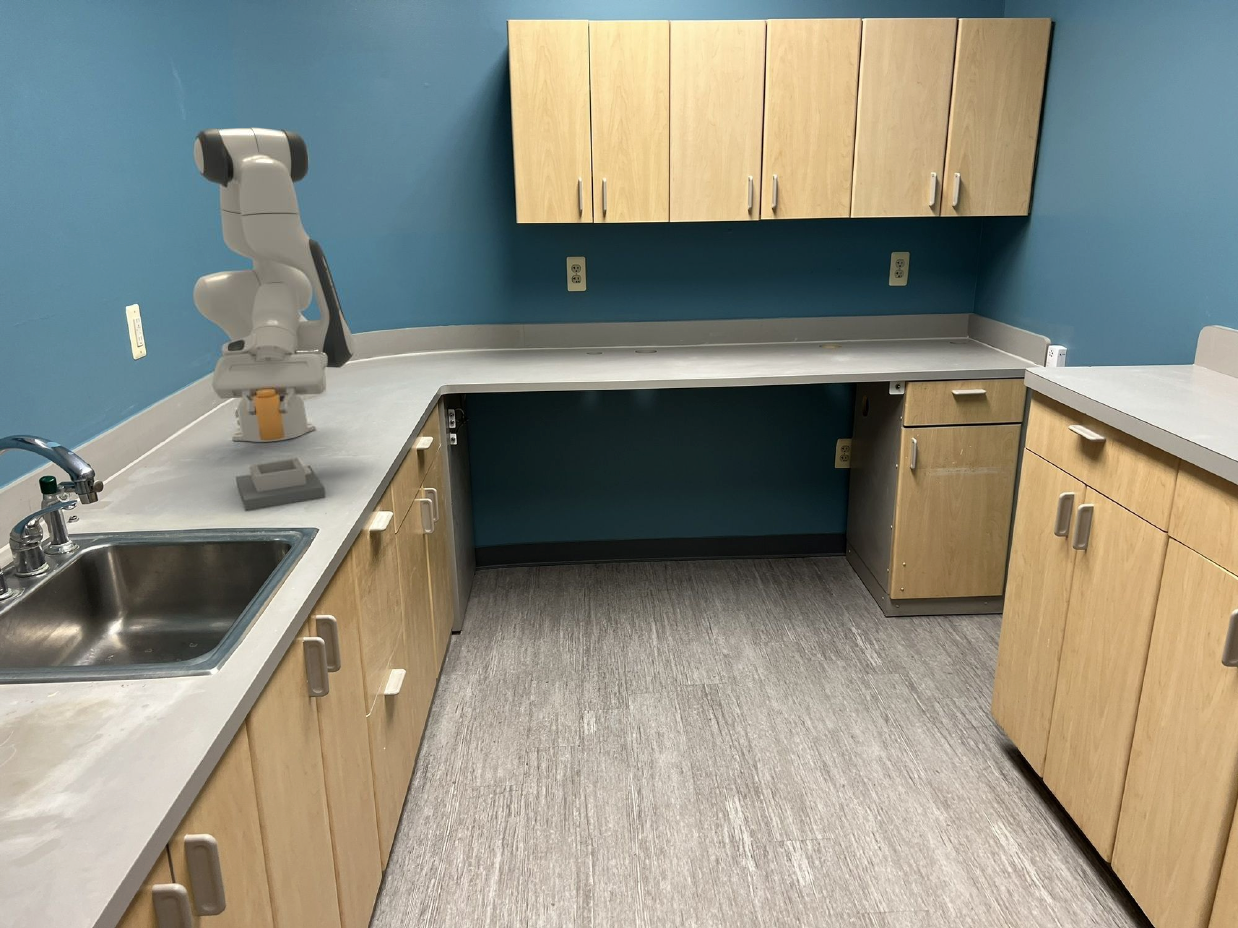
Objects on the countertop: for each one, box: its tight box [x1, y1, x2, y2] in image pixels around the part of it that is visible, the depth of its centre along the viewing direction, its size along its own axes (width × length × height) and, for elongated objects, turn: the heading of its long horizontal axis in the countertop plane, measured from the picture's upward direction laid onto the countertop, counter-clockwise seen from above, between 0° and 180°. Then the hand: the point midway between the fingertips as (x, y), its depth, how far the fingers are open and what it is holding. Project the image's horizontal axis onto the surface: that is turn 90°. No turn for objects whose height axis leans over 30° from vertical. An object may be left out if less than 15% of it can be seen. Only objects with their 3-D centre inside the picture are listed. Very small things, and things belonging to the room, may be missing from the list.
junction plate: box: [235, 457, 326, 511], centre depth 166 cm, size 16×14×5 cm
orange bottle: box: [254, 389, 285, 440], centre depth 162 cm, size 4×4×9 cm
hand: (267, 412), depth 162 cm, fingers closed on orange bottle, 4 cm apart
